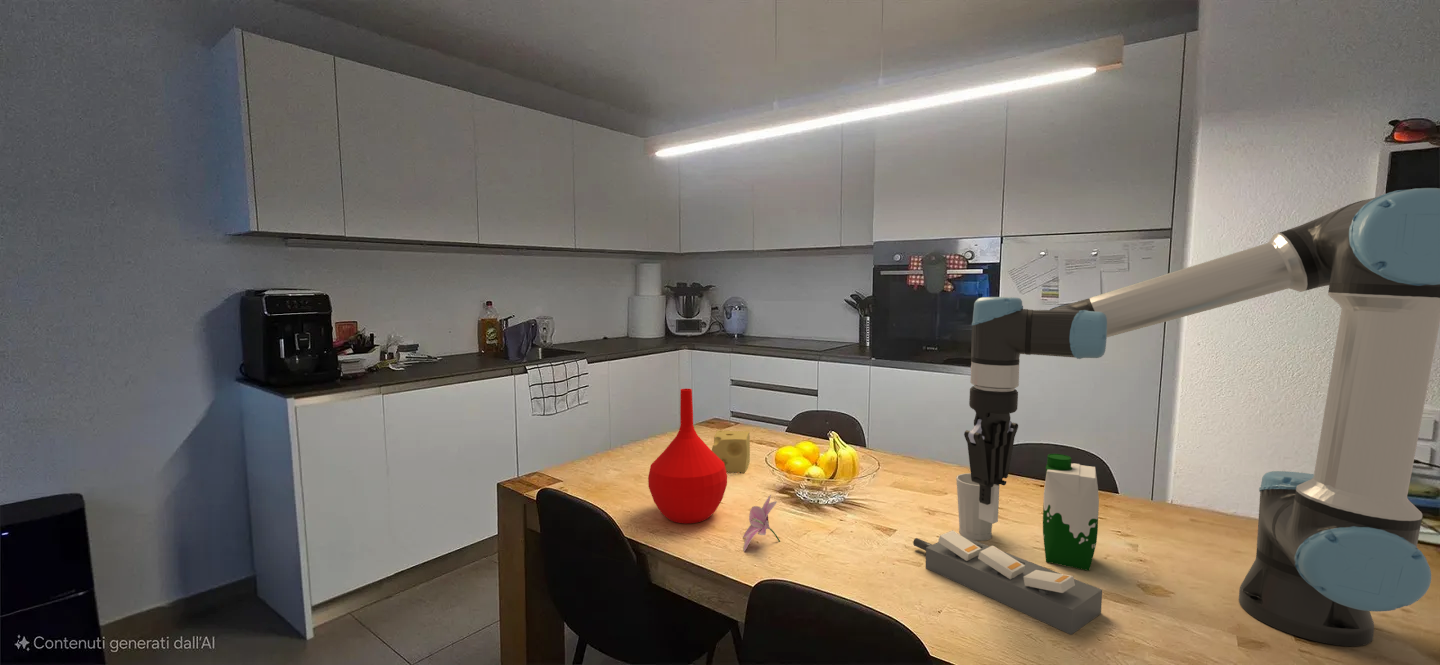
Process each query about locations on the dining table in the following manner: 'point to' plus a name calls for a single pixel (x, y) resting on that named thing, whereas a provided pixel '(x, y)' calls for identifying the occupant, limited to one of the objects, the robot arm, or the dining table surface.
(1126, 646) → the dining table surface
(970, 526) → the cup
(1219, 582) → the dining table surface
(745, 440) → the cheese
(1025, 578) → the rocker
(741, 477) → the dining table surface
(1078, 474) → the milk carton
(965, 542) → the rocker
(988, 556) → the rocker
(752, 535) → the lily
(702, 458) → the vase
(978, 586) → the power strip
